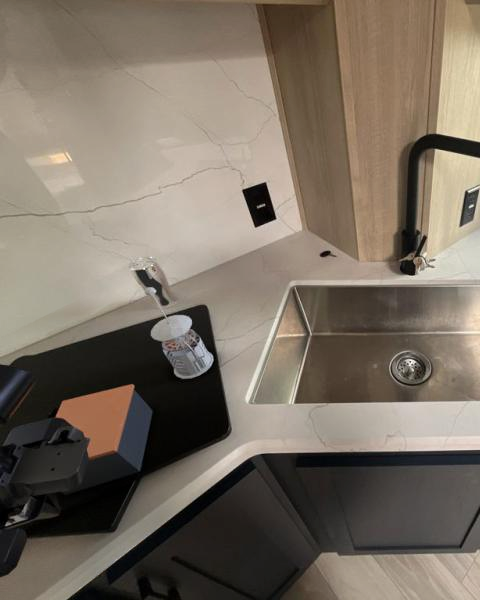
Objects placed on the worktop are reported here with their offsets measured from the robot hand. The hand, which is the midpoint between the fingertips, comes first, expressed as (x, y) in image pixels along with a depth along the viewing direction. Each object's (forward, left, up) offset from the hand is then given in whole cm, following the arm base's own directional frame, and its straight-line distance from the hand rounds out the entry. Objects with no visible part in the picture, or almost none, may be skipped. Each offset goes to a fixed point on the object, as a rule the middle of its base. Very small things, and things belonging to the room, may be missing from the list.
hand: (56, 513), depth 46 cm
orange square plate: (+11, +13, -4) cm, 18 cm away
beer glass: (+48, +41, -13) cm, 64 cm away
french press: (+33, +14, -13) cm, 38 cm away
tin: (+11, +13, -13) cm, 21 cm away
